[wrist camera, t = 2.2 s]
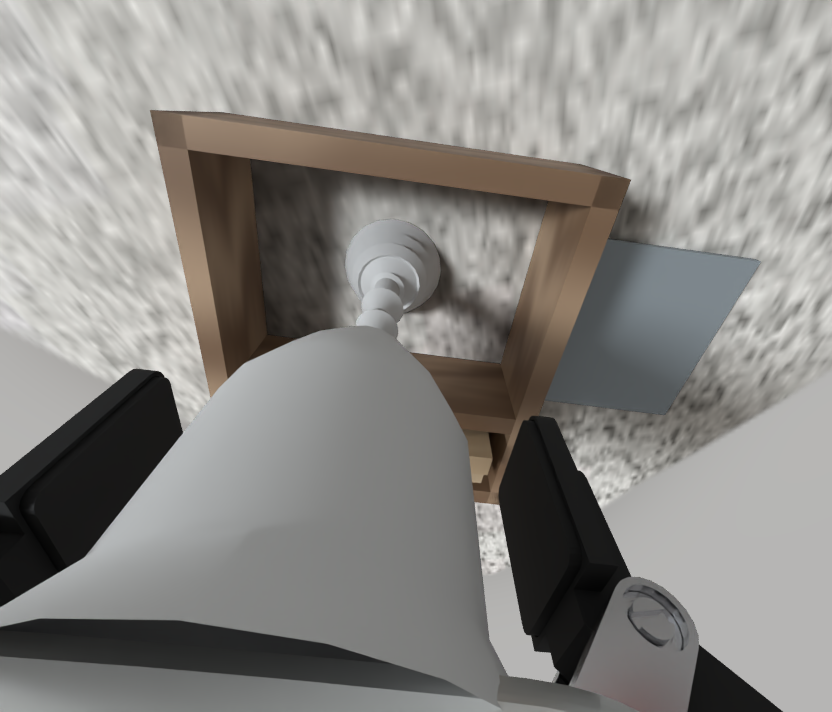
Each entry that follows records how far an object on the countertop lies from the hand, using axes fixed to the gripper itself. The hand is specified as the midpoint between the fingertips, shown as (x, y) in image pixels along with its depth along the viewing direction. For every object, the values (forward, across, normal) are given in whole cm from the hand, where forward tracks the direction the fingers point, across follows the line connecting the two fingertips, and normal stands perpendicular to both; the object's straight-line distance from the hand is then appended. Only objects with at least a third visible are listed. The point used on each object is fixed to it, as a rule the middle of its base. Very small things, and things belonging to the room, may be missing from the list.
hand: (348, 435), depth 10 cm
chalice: (+12, 0, -1) cm, 12 cm away
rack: (+12, 0, +2) cm, 12 cm away
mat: (+12, -14, +1) cm, 18 cm away
